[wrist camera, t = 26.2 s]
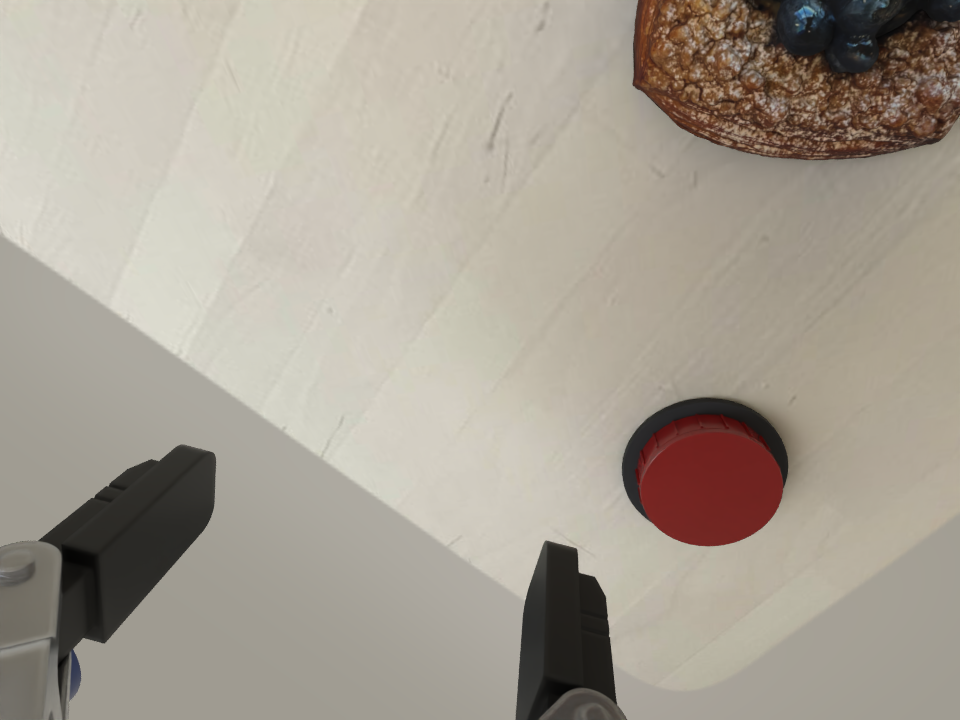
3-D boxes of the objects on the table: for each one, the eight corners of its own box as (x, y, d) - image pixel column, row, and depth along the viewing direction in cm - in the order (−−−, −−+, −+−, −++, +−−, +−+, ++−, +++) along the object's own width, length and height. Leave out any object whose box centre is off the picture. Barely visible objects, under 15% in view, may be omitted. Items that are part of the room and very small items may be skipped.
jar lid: (667, 394, 24) (673, 411, 23) (797, 439, 24) (812, 459, 23) (615, 499, 27) (617, 521, 25) (734, 540, 27) (744, 564, 25)
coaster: (748, 547, 27) (750, 553, 27) (603, 509, 27) (603, 514, 27) (812, 421, 24) (816, 425, 24) (650, 380, 25) (651, 384, 24)
